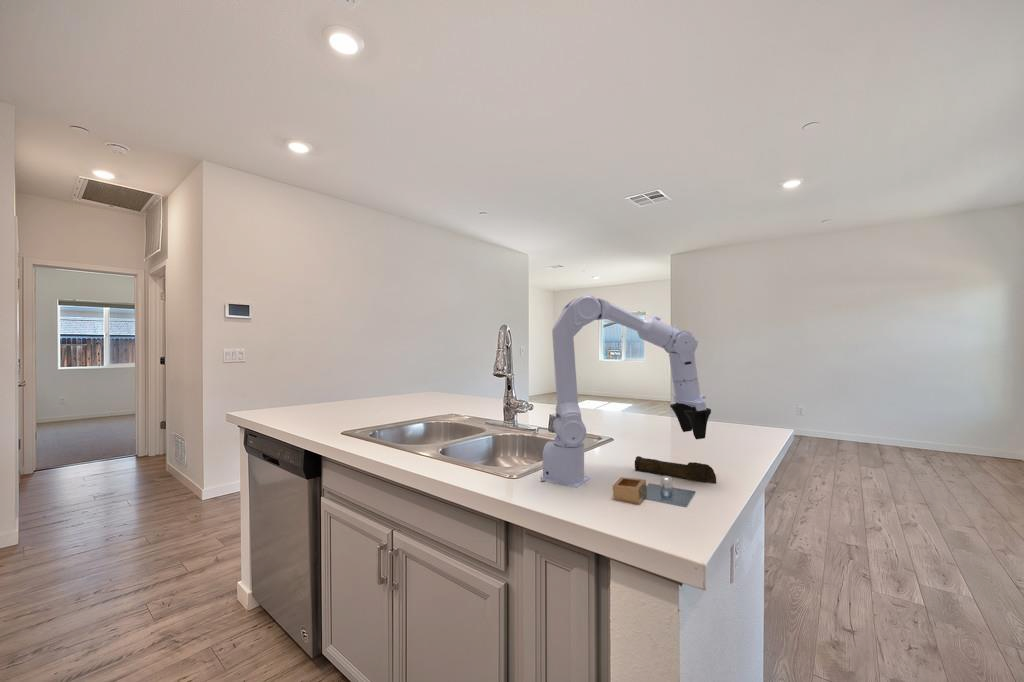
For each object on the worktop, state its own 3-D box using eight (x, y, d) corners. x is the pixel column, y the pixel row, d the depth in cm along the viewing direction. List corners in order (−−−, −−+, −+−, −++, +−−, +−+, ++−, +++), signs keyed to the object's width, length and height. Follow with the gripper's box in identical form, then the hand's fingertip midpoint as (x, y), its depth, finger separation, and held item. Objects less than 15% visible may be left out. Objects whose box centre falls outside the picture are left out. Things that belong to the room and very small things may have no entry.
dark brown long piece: (633, 473, 110) (633, 454, 110) (639, 469, 113) (639, 451, 113) (712, 489, 98) (712, 469, 98) (717, 484, 101) (717, 465, 101)
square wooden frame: (613, 501, 90) (612, 485, 90) (622, 491, 94) (620, 477, 94) (639, 504, 87) (638, 488, 87) (647, 494, 91) (645, 479, 91)
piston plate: (636, 499, 91) (636, 479, 91) (649, 485, 99) (649, 467, 99) (686, 509, 85) (686, 488, 85) (695, 494, 94) (695, 475, 94)
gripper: (715, 380, 97) (724, 439, 98) (689, 374, 112) (697, 425, 112) (684, 385, 97) (693, 444, 98) (662, 378, 112) (670, 430, 112)
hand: (693, 434), depth 105 cm, fingers open, 7 cm apart
